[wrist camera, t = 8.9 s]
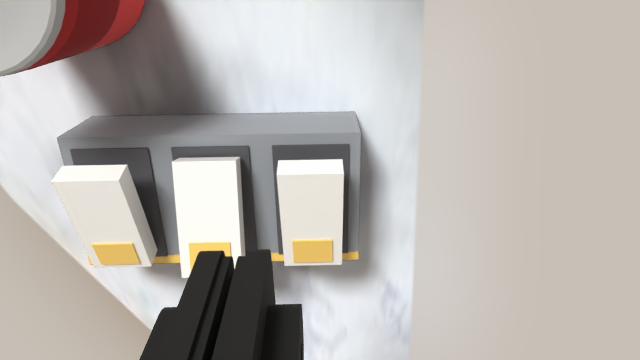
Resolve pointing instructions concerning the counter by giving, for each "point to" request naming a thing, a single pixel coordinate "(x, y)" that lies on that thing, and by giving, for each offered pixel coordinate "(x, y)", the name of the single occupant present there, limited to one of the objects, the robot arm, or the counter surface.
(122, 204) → the rocker
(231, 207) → the rocker
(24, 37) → the canned food
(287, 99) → the counter surface
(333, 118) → the switch unit
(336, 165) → the rocker
